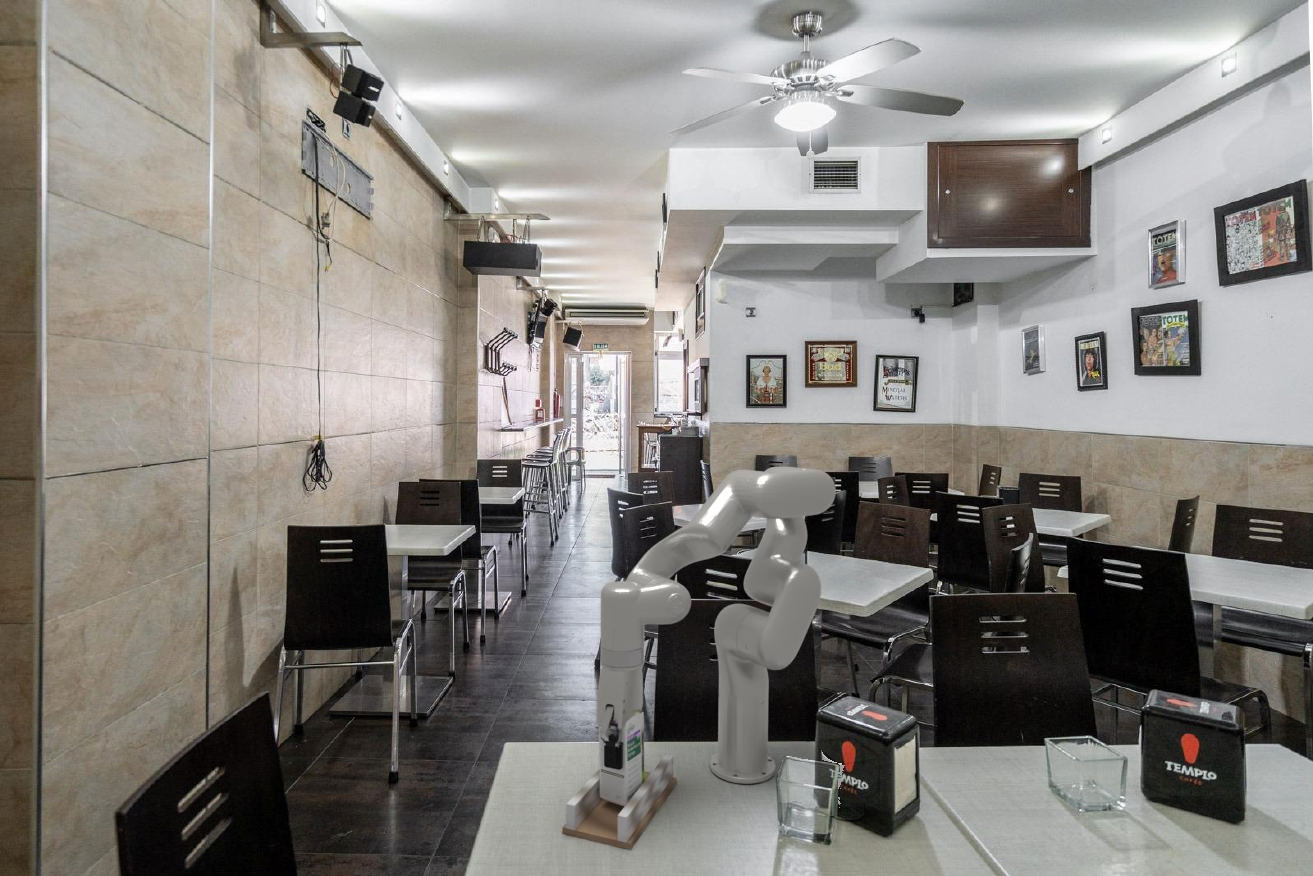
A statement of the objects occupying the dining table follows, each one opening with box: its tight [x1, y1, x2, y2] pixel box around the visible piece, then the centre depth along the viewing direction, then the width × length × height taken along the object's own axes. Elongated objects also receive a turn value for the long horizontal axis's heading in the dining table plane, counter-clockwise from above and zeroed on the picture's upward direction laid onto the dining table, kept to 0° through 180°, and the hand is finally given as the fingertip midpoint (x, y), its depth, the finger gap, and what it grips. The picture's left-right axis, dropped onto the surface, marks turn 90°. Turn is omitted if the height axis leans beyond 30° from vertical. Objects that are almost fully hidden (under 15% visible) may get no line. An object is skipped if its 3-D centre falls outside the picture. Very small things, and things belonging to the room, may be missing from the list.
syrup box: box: [598, 709, 645, 806], centre depth 124 cm, size 6×6×14 cm
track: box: [562, 754, 678, 850], centre depth 125 cm, size 22×12×5 cm, turn 159°
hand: (621, 757), depth 124 cm, fingers closed on syrup box, 6 cm apart
